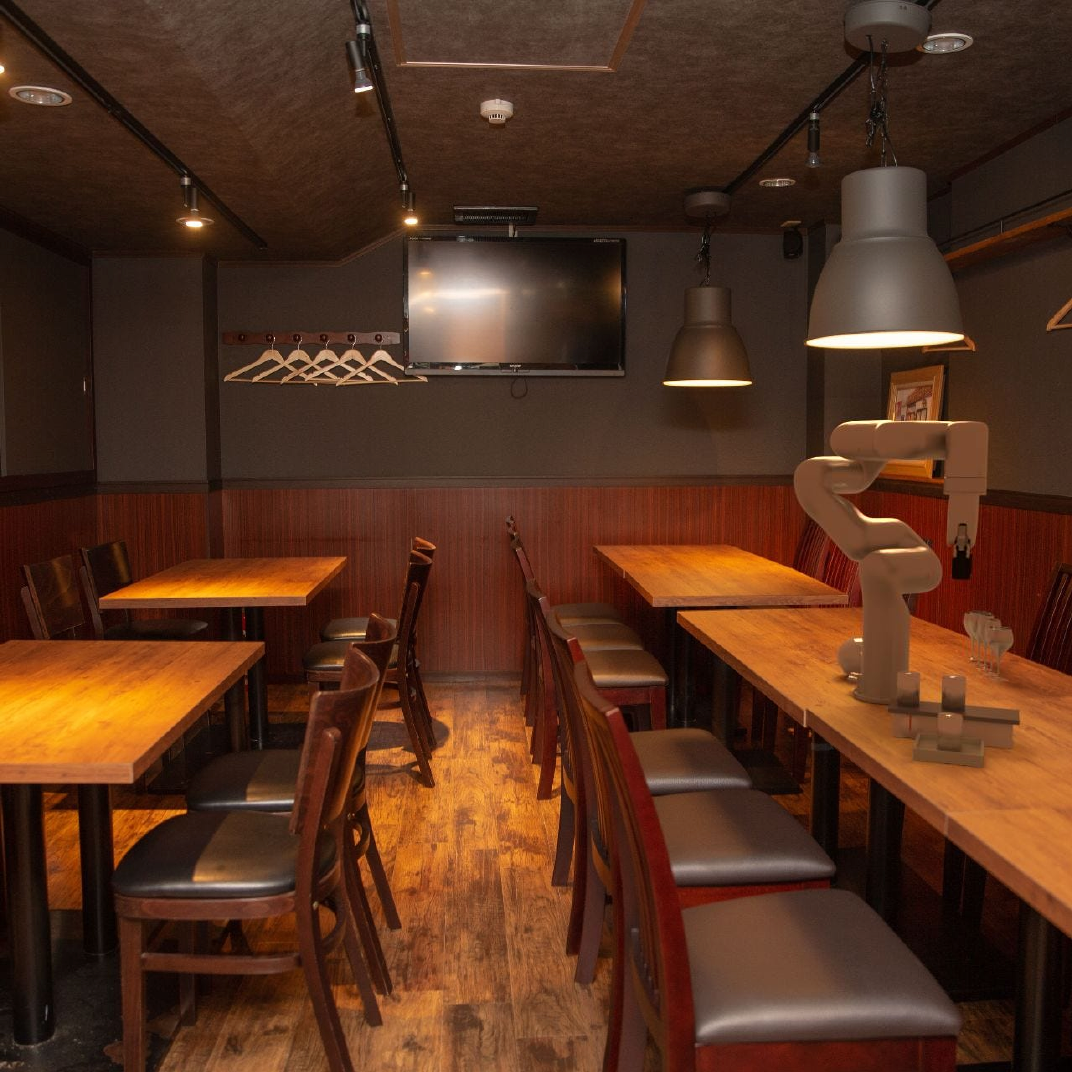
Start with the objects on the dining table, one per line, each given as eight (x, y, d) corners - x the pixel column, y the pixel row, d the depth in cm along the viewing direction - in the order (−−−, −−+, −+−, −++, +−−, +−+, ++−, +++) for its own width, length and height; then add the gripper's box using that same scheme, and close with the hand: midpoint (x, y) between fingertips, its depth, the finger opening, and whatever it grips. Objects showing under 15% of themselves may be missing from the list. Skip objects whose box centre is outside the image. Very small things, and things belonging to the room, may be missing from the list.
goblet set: (958, 658, 267) (959, 606, 266) (981, 659, 266) (983, 606, 265) (988, 682, 239) (990, 624, 238) (1015, 683, 238) (1017, 625, 237)
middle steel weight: (936, 708, 193) (937, 676, 192) (949, 705, 195) (950, 673, 194) (956, 712, 189) (957, 680, 189) (969, 709, 192) (970, 677, 191)
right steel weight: (931, 748, 182) (933, 714, 181) (944, 744, 184) (945, 711, 184) (953, 754, 179) (954, 719, 178) (966, 750, 181) (967, 715, 180)
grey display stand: (886, 736, 193) (887, 708, 193) (891, 725, 201) (891, 698, 200) (1018, 750, 184) (1019, 720, 184) (1018, 738, 192) (1019, 710, 192)
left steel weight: (892, 704, 196) (892, 672, 195) (905, 701, 198) (906, 669, 198) (910, 708, 193) (911, 676, 192) (923, 705, 195) (924, 673, 194)
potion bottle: (832, 680, 246) (898, 690, 244) (839, 663, 238) (908, 674, 236) (834, 645, 251) (899, 654, 249) (841, 627, 243) (909, 636, 240)
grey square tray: (912, 759, 179) (912, 748, 179) (917, 743, 189) (917, 732, 189) (983, 767, 174) (983, 756, 174) (984, 750, 184) (984, 739, 184)
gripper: (946, 485, 210) (943, 570, 211) (941, 488, 194) (938, 580, 195) (987, 485, 207) (983, 572, 208) (985, 488, 191) (982, 582, 192)
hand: (961, 576), depth 202 cm, fingers open, 9 cm apart
